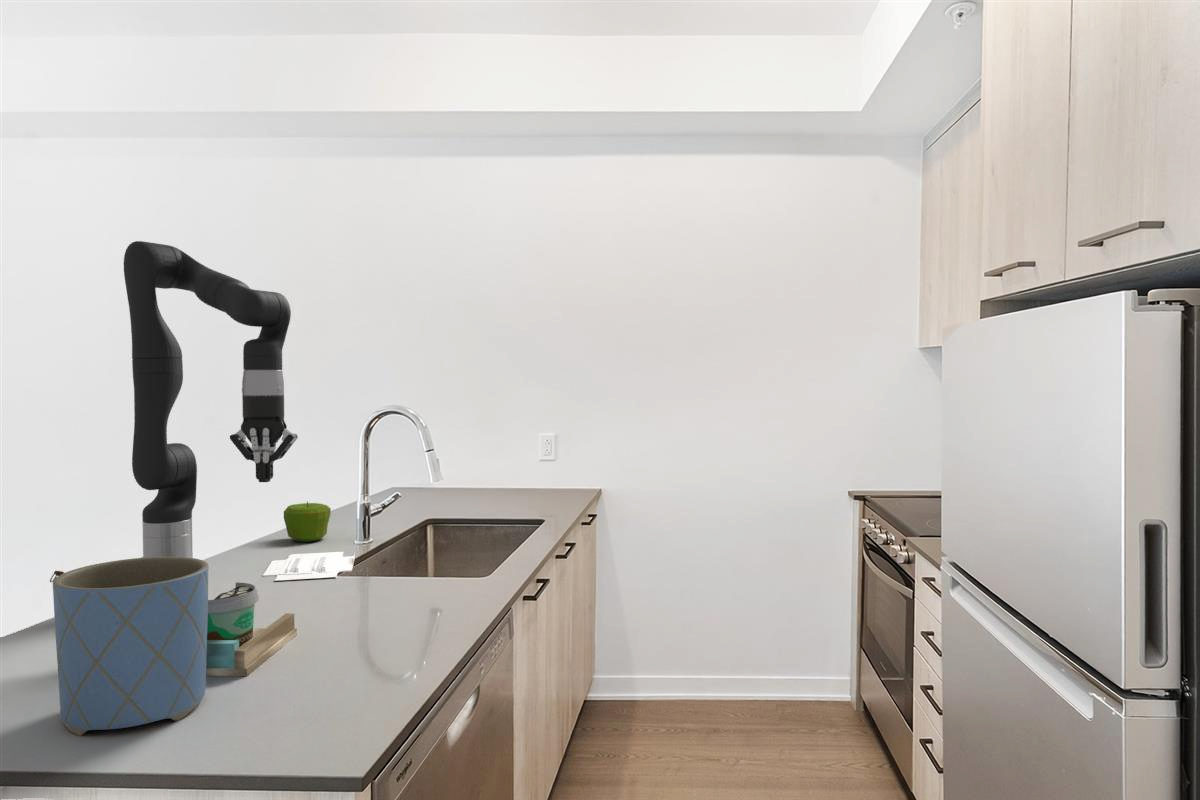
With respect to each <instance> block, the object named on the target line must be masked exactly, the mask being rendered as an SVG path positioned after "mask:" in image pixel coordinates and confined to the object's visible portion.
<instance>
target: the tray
mask: <svg viewBox="0 0 1200 800" xmlns="http://www.w3.org/2000/svg"><path fill="white" fill-rule="evenodd" d="M355 552H356V551H354V553H353V555H352V556H351V555H348V556H344V551H334V552H333V551H331V552H329V551H328V552H313V553H295V554H293V553H292V554H289V555H288V557H287V558H286V559H277V560H272V561H271V562H270V564H269V565H268V566H267V569H266V570H265V571H264V573H263V574H262V577H264V578H265V577H266V578H267V577H275V579H274V582H275V581H292V580H306V579H311V580H312V579H324V578H325V579H326V578H337V577H338V574H339V573H348V572H349V573H351V572H353V568H354V563H355V559H356V555H355Z"/></svg>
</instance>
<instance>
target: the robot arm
mask: <svg viewBox="0 0 1200 800" xmlns="http://www.w3.org/2000/svg"><path fill="white" fill-rule="evenodd" d="M123 276H124V282H125V283H124V284H125V289H126V295H127V301H128V302H127V304H128V309H129V317H130V318H129V319H130V329H131V330H130V333H131V359H132V360H131V361H132V362H131V364H132V366H131V367H132V380H133V381H132V382H133V402H134V403H133V405H134V407H133V408H134V418H133V419H134V422H133V424H134V426H133V439H132V440H133V441H132V454H131V466H132V467H131V468H132V469H131V470H132V474H133V478H134V480H135V482H136V483H137V485H138V486H140V487H141V488H142V489H144V490H146V491H156V490H157V494H156V496H155V497H154V499H152V501H151V502H149V503H148V504H147V505H146V506H144V507H143V510H142V515H141V516H142V556H141V557H140V558H146V557H188V558H193V509H194V508H195V505H196V501H197V481H198V480H197V479H198V464H197V460H196V456H195V454H194V452H193V450H192V449H191V448H190V446H188V445H186V444H184V443H180V442H174V443H168V434H167V432H168V431H167V428H168V422H169V416H170V413H171V411H172V409H173V407H174V405H175V403H176V401H177V398H178V396H179V394H180V392H181V389H182V386H183V381H184V380H183V379H184V369H183V368H184V366H183V364H184V363H183V352H182V348H181V345H180V344H179V341H178V340H177V338H176V336H175V335H174V333H173V332H172V330H171V329H170V327H169V325H168V324H167V322H166V320H164V317H163V315H162V314H161V311H160V308H159V305H158V300H157V288H158V289H164V290H165V289H167V290H168V289H177V290H183V291H189V292H191V293H194V294H195V296H196V297H197V298H198V300H199V301H200V302H202V303H203V304H204V305H205V304H206V305H207V306H209V307H211V308H214V309H215V310H217V311H220V312H223V313H225V314H226V315H228V316H229V317H230V318H231V319H232V320H233V321H235V322H237V323H239V324H242V325H243V326H244V325H245V326H249V327H257V328H260V333H259V335H258V337H257V338H254V339H253V338H252V339H249V340H246V341H245V342H244V344H243V350H242V351H243V353H242V354H243V355H242V356H243V357H242V358H243V360H242V361H243V363H242V364H243V367H242V368H243V371H242V373H243V374H242V380H241V385H242V387H241V394H242V395H241V397H242V403H241V404H242V423H241V425H240V429H238V431H237V432H235V433H234V434H231V435H229V439H230V441H231V442H232V444H234V446H235V447H236V449H237V450H238V451H239V452H240V453H241V455H242V456H243V457H244V459H245V460H247V461H252V462H254V463H255V479H256V480H258V482H259V483H269V482H271V480H272V479H273V478H274V462H275V461H277V460H280V459H282V458H284V456H285V454H286V453H287V452H288V451H289V450H290V448H291V447H292V446H293V444H294V443H295V442H296V441H297V439H298V438H299V436H298V434H297V433H292V432H291V431H290V430H289V429H287V428H288V427H287V423H286V422H285V382H284V381H285V380H284V373H283V347H284V344H285V342H286V336H287V334H288V330H289V325H290V323H291V316H292V311H291V305H290V303H289V300H288V298H287V297H286V296H285V295H284V294H282V293H281V292H275V291H267V290H259V289H253V288H250V286H249V285H248V284H246V283H245V282H243V281H241V280H239V279H237V278H234V277H231V276H229V275H227V274H224V273H222V272H219V271H216V270H214V269H212V268H210V267H208V266H205V265H204V264H202V263H200V262H199V261H197V260H196V259H194V258H193V257H191V256H190V255H189V254H187V253H186V252H184V251H183V250H182V249H179V248H177V247H176V246H173V245H169V244H164V243H163V244H162V243H156V242H151V241H150V242H149V241H141V240H136V241H133V242H130V244H128V245H127V248H126V249H125V252H124V256H123ZM280 439H281V441H282V442H281V443H280V445H279V446H278V447H277V443H278V442H279V440H280ZM247 440H248V441H249V442H250V444H251V445H250V444H249V443H248V442H247Z"/></svg>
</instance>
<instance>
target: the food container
mask: <svg viewBox="0 0 1200 800" xmlns="http://www.w3.org/2000/svg"><path fill="white" fill-rule="evenodd" d="M259 601H260V597H259V593H258V590H257V588H256V586H255V585H254V584H252V583H248V582H238V581H237V582H235V587H234V588H233V589H230V590H229V591H226V592H222V593H219V594H218V596H216V597H215V598H213V599H208V622H207V640H239V647H241V646H242V645H243V644H245V643H246V642H247V641H249V640H250V639H252V637H253V628H254V621H255V608H256V607H255V604H256V603H258V602H259Z"/></svg>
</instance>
